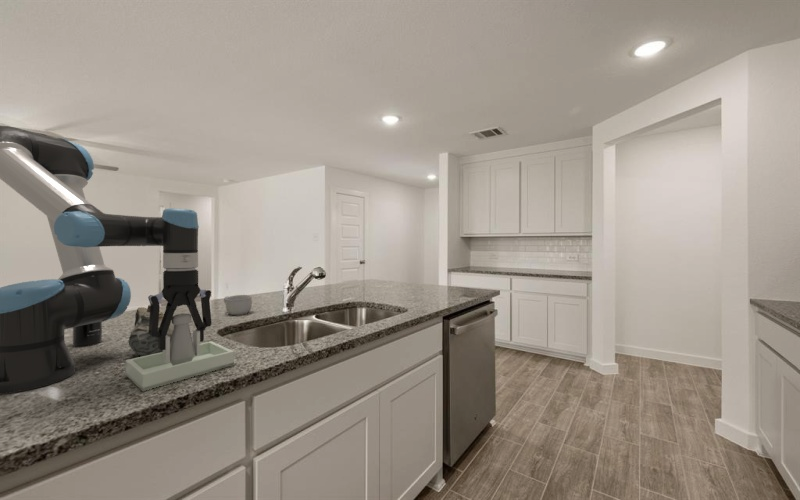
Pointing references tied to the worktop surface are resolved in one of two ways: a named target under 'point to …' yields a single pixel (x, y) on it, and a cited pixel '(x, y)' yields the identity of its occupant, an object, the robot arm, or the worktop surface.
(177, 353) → the salt shaker
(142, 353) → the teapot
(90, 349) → the worktop surface
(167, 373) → the tray
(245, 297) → the teacup
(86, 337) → the supplement bottle
